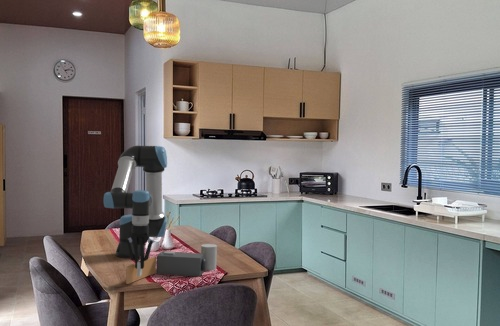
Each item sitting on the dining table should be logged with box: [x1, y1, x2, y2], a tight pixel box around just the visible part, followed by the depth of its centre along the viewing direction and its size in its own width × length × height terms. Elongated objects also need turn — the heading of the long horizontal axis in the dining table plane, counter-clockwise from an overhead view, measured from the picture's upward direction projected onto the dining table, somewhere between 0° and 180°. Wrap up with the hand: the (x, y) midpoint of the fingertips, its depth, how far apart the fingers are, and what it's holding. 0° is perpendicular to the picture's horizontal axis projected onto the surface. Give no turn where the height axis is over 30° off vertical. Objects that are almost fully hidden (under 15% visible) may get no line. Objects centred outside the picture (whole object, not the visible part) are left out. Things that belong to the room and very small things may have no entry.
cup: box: [200, 243, 218, 271], centre depth 245 cm, size 8×8×12 cm
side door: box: [125, 256, 157, 285], centre depth 222 cm, size 22×2×8 cm, turn 157°
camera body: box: [155, 250, 207, 277], centre depth 235 cm, size 24×10×10 cm, turn 84°
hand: (139, 275), depth 216 cm, fingers closed
